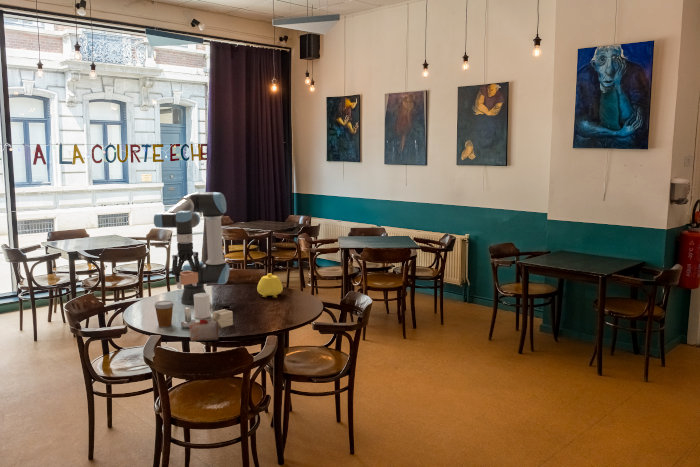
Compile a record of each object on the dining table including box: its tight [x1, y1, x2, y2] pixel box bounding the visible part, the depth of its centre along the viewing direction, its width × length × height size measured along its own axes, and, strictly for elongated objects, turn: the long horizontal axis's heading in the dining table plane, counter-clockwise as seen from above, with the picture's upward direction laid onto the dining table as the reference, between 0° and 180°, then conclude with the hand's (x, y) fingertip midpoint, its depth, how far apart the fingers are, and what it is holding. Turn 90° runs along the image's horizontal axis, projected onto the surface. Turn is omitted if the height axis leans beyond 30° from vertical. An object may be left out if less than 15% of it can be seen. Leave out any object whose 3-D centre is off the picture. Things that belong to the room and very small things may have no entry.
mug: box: [193, 292, 211, 320], centre depth 328 cm, size 12×8×12 cm
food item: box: [189, 318, 220, 342], centre depth 288 cm, size 14×8×10 cm, turn 98°
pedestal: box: [212, 308, 234, 329], centre depth 311 cm, size 7×7×7 cm
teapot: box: [256, 272, 284, 298], centre depth 373 cm, size 20×16×14 cm
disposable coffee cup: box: [153, 300, 175, 328], centre depth 310 cm, size 10×10×12 cm
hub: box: [180, 307, 196, 330], centre depth 307 cm, size 7×7×10 cm
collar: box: [174, 270, 198, 286], centre depth 304 cm, size 8×8×5 cm
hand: (186, 286), depth 304 cm, fingers closed on collar, 8 cm apart
